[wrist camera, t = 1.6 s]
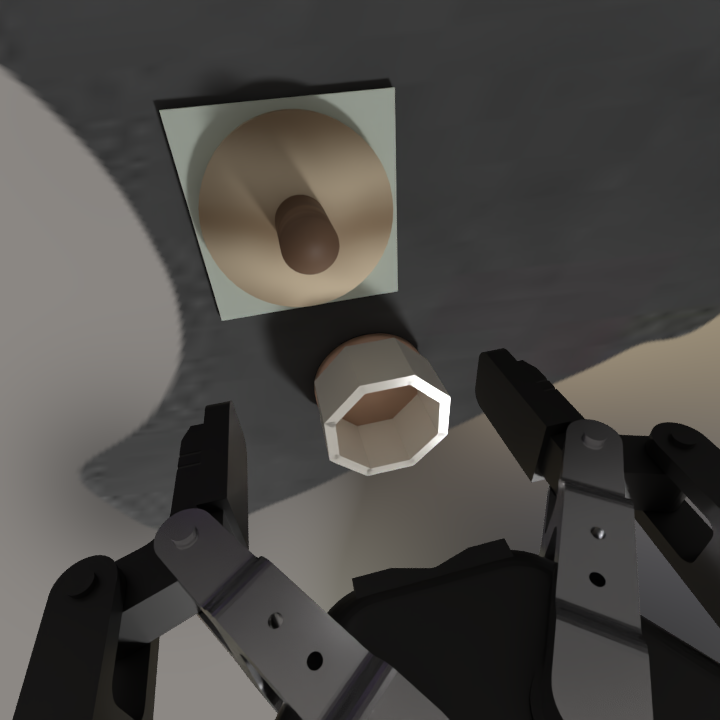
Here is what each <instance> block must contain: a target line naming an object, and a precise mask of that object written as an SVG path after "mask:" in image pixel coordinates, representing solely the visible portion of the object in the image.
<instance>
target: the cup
mask: <svg viewBox="0 0 720 720" xmlns="http://www.w3.org/2000/svg"><path fill="white" fill-rule="evenodd" d="M314 393H315V397H316V401H317V405H318V408H319V413H320V419H321V423H322V428H323V432H324V437H325V441H326V446H327V450H328V455H329V459H330V461H332V462H334V463H337V464H339V465H342V466H344V467H347V468H349V469H352V470H354V471H356V472H359V473H361V474H364V475H366V476H369V475H374V474H378V473H382V472H387V471H391V470H395V469H400V468H404V467H408V466H413V465H414V464H416V463H417V462H418V461H419V460H420V459H421V458H422V457H423V456H424V455H425V454H427V453H428V452H429V451H430V450H431V449H432V448H433V447H434V446H435V445H437V444H438V443H439V442H440V441H441V440H442V439H443V438H444V437H445V436H446V435H447V434H448V421H449V408H450V396H449V394H448V393H447V391H446V389H445V388H444V386H443V384H442V383H441V381H440V380H439V378H438V376H437V375H436V373H435V371H434V370H433V368H432V367H431V365H430V363H429V362H428V360H427V359H426V358H424V357H423V356H421V355H420V354H419V352H418V351H417V349H416V348H415V347H414V346H413V345H412V344H411V343H409V342H408V341H407V340H405V339H403V338H401V337H398V336H395V335H391V334H384V333H374V334H366V335H362V336H358V337H355V338H353V339H350V340H348V341H346V342H344V343H343V344H341V345H339V346H338V347H337V348H335V349H334V350H333V351H332V352H331V353H330V354H329V355H328V356H327V357H326V358H325V359H324V360H323V362H322V363H321V365H320V367H319V368H318V371H317V373H316V377H315V381H314Z"/></svg>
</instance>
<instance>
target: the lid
mask: <svg viewBox="0 0 720 720" xmlns="http://www.w3.org/2000/svg"><path fill="white" fill-rule="evenodd" d="M198 210H199V222H200V227H201V231H202V235H203V238H204V241H205V244H206V246H207V249H208V251H209V253H210V254H211V256H212V258H213V260H214V261H215V263H216V264H217V266H218V267H219V269H220V270H221V271H222V272H223V273H224V274H225V275H226V277H227V278H228V279H229V280H231V281H232V282H233V283H234V284H235V285H236V286H237V287H239V288H240V289H242V290H243V291H245V292H246V293H248V294H250V295H252V296H254V297H256V298H258V299H260V300H263V301H265V302H268V303H272V304H276V305H280V306H288V307H306V306H314V305H319V304H323V303H326V302H329V301H332V300H335V299H337V298H339V297H341V296H343V295H345V294H346V293H348V292H349V291H351V290H353V289H354V288H355V287H357V286H358V285H359V284H360V283H361V282H363V281H364V279H365V278H366V277H367V276H368V275H369V274H370V273H371V272H372V271H373V269H374V268H375V267H376V265H377V264H378V262H379V260H380V259H381V257H382V255H383V253H384V251H385V248H386V246H387V244H388V240H389V237H390V234H391V229H392V223H393V197H392V192H391V187H390V183H389V180H388V177H387V174H386V171H385V169H384V167H383V165H382V163H381V161H380V159H379V158H378V157H377V155H376V154H375V152H374V151H373V149H372V148H371V147H370V146H369V145H368V143H367V142H366V141H365V140H364V139H363V138H362V137H361V136H360V135H358V134H357V133H356V132H355V131H354V130H352V129H351V128H349V127H348V126H346V125H345V124H343V123H342V122H340V121H338V120H337V119H334V118H332V117H330V116H328V115H325V114H322V113H319V112H315V111H311V110H304V109H280V110H275V111H269V112H266V113H263V114H260V115H258V116H255V117H253V118H251V119H249V120H247V121H246V122H244V123H242V124H241V125H239V126H238V127H237V128H235V129H234V130H233V131H232V132H231V133H230V134H229V135H228V136H227V137H226V138H225V139H224V140H223V141H222V142H221V143H220V145H219V146H218V147H217V149H216V150H215V151H214V153H213V155H212V157H211V159H210V161H209V163H208V165H207V167H206V170H205V173H204V176H203V179H202V183H201V188H200V193H199V206H198Z"/></svg>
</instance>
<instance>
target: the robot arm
mask: <svg viewBox="0 0 720 720" xmlns="http://www.w3.org/2000/svg"><path fill="white" fill-rule="evenodd" d="M475 393H476V398H477V401H478V404H479V406H480V407H481V409H482V410H483V412H484V413H485V415H486V416H487V418H488V419H489V421H490V422H491V423H492V425H493V426H494V428H495V429H496V431H497V432H498V434H499V435H500V437H501V438H502V440H503V441H504V443H505V444H506V446H507V447H508V449H509V450H510V451H511V453H512V454H513V456H514V457H515V459H516V460H517V462H518V463H519V464H520V466H521V468H522V469H523V471H524V472H525V473H526V475H527V476H528V478H529V479H530V481H531V482H535V481H539V480H543V479H546V481H547V482H548V483H549V488H548V492H547V500H546V509H545V517H544V525H543V533H542V541H541V546H540V551H539V555H536V554H533V553H529V552H525V551H518V550H510V548H509V546H508V545H507V543H506V541H505V539H500V540H496V541H492V542H488V543H485V544H481V545H478V546H473V547H470V548H468V549H466V550H464V551H462V552H461V553H459V554H457V555H455V556H454V557H452V558H450V559H449V560H447V561H446V562H444V563H442V564H440V565H439V566H437V567H434V568H390V569H386V570H382V571H379V572H375V573H371V574H367V575H364V576H360V577H356V578H353V579H352V581H353V587H354V591H352V592H351V593H349V594H347V595H346V596H344V597H343V598H342V599H341V600H339V601H338V602H337V603H336V604H335V605H334V606H333V607H332V608H331V609H330V610H329V612H328V613H326V612H325V611H324V610H323V609H322V608H321V607H320V606H319V605H317V604H316V603H315V602H314V601H313V600H312V599H311V598H310V597H309V596H308V595H307V594H305V593H304V592H303V591H302V590H301V589H300V588H299V587H298V586H297V585H296V584H295V583H293V582H292V581H291V580H290V579H289V578H288V577H287V576H286V575H285V574H284V573H283V572H281V571H280V570H279V569H278V568H277V567H276V566H275V565H274V564H273V563H271V562H270V561H269V560H268V559H266V558H265V557H262V556H261V557H259V558H257V557H256V556H254V555H253V554H252V553H251V552H250V551H249V546H248V545H249V541H248V486H247V451H246V444H245V439H244V436H243V432H242V429H241V426H240V423H239V420H238V417H237V414H236V411H235V408H234V405H233V403H232V401H228V402H223V403H218V404H213V405H208V406H206V408H205V416H204V424H199V425H194V426H191V427H190V428H189V430H188V431H187V433H186V434H185V436H184V437H183V439H182V441H181V448H180V454H179V455H180V458H179V461H178V470H177V474H176V481H175V488H174V495H173V501H172V508H171V514H170V518H168V519H167V520H166V521H165V522H164V523H163V524H162V525H161V527H160V528H159V530H158V531H157V533H156V536H155V539H153V540H152V541H151V542H150V543H148V544H147V545H145V546H143V547H142V548H140V549H138V550H136V551H134V552H132V553H131V554H129V555H127V556H125V557H123V558H121V559H119V560H117V561H115V562H114V560H113V559H111V558H110V557H107V556H102V555H95V556H91V557H88V558H85V559H83V560H81V561H79V562H77V563H75V564H74V565H72V566H71V567H70V568H68V569H67V570H66V571H65V572H64V573H63V574H62V575H61V576H60V577H59V578H58V580H57V581H56V582H55V584H54V586H53V587H52V589H51V591H50V594H49V596H48V600H47V603H46V607H45V610H44V613H43V617H42V620H41V624H40V628H39V631H38V634H37V638H36V641H35V644H34V648H33V651H32V655H31V658H30V662H29V665H28V669H27V672H26V675H25V679H24V683H23V686H22V689H21V692H20V696H19V699H18V703H17V706H16V710H15V713H14V716H13V720H153V712H154V699H155V687H156V674H157V661H158V649H159V637H160V636H161V635H163V634H164V633H166V632H167V631H169V630H171V629H172V628H174V627H176V626H177V625H179V624H181V623H182V622H184V621H186V620H187V619H189V618H190V617H192V616H194V615H195V614H197V615H198V617H199V618H200V619H201V620H202V621H203V623H204V624H205V625H206V626H207V627H208V629H209V630H210V631H211V632H212V633H213V635H214V636H215V637H216V638H217V639H218V640H219V642H220V643H221V644H222V645H223V646H224V648H225V649H226V650H227V651H228V652H229V653H230V655H231V656H232V657H233V658H234V659H235V661H236V662H237V663H238V665H240V667H241V669H242V670H243V671H244V672H245V674H246V675H247V677H248V678H249V679H250V680H251V682H252V683H253V684H254V685H255V687H256V688H257V689H258V690H259V692H260V693H261V694H262V695H263V696H264V698H265V699H266V700H267V701H268V702H269V704H270V705H271V706H272V707H273V708H274V709H275V711H276V712H277V713H278V714H277V717H276V719H275V720H720V663H718V662H717V661H715V660H713V659H712V658H710V657H709V656H707V655H705V654H704V653H702V652H700V651H699V650H697V649H696V648H694V647H692V646H691V645H689V644H687V643H686V642H684V641H682V640H681V639H679V638H677V637H676V636H674V635H673V634H671V633H669V632H667V631H666V630H664V629H663V628H661V627H660V626H658V625H656V624H655V623H653V622H651V621H650V620H648V619H646V618H645V617H643V616H642V615H640V603H639V587H638V570H637V569H638V568H637V553H636V535H635V519H636V521H637V522H638V523H639V524H640V526H641V527H642V528H643V530H644V531H645V532H646V533H647V535H648V536H649V537H650V539H651V540H652V541H653V543H654V544H655V545H656V546H657V548H658V549H659V550H660V552H661V553H662V554H663V555H664V557H665V558H666V559H667V561H668V562H669V563H670V564H671V566H672V567H673V568H674V570H675V571H676V572H677V573H678V575H679V576H680V577H681V579H682V580H683V581H684V583H685V584H686V585H687V586H688V588H689V589H690V590H691V592H692V593H693V594H694V595H695V597H696V598H697V599H698V601H699V602H700V603H701V604H702V606H703V607H704V608H705V610H706V611H707V612H708V613H709V615H710V616H711V617H712V618H713V620H714V621H715V623H716V624H717V625H718V626H719V627H720V449H719V448H718V447H716V446H715V445H714V444H713V443H712V442H711V441H710V440H709V439H707V438H706V437H705V436H704V435H703V434H701V433H700V432H698V431H697V430H695V429H693V428H691V427H688V426H685V425H682V424H678V423H670V422H667V423H661V424H658V425H656V426H655V427H654V428H653V429H652V431H651V434H650V435H649V436H633V435H619V434H618V433H617V432H616V431H615V430H613V429H612V428H611V427H609V426H608V425H606V424H604V423H601V422H599V421H595V420H587V419H584V418H583V416H582V415H581V414H580V413H579V412H578V411H577V410H576V409H575V408H574V407H573V406H572V405H571V404H570V403H569V402H568V401H567V399H566V398H565V397H564V396H563V395H562V394H561V393H560V392H559V391H558V390H557V389H555V387H554V386H553V385H552V384H551V383H550V381H547V378H546V377H545V376H544V375H543V374H542V373H541V372H540V371H539V370H538V369H537V368H536V367H534V366H532V365H530V364H528V363H527V362H525V361H523V360H521V361H517V360H516V359H515V358H514V357H513V356H512V355H511V354H510V353H509V352H508V351H507V350H506V349H504V348H502V349H497V350H492V351H487V352H482V353H481V354H480V356H479V362H478V370H477V379H476V387H475ZM686 496H687V497H688V498H689V499H690V500H691V501H692V502H693V504H695V506H696V507H697V508H698V509H699V510H700V511H701V512H702V513H703V514H704V515H705V517H706V518H707V519H708V520H709V522H710V523H711V526H712V529H713V530H712V529H711V528H710V527H709V526H708V525H707V524H706V523H705V522H704V521H703V519H702V518H701V517H700V516H699V515H698V514H697V513H696V512H695V511H694V510H693V509H692V508H691V506H690V505H689V504H688V503H687V502H686V501H685V500H684V499H685V497H686Z"/></svg>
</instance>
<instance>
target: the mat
mask: <svg viewBox="0 0 720 720" xmlns="http://www.w3.org/2000/svg"><path fill="white" fill-rule="evenodd" d="M280 109H304V110H311V111H315V112H319V113H322V114H325V115H328V116H330V117H332V118H334V119H337V120H338V121H340V122H342V123H343V124H345V125H346V126H348V127H349V128H351V129H352V130H354V131H355V132H356V133H357V134H358V135H360V136H361V137H362V138H363V139H364V140H365V141H366V142H367V143H368V145H369V146H370V147H371V148H372V149H373V151H374V152H375V154H376V155H377V157H378V158H379V159H380V161H381V163H382V165H383V167H384V169H385V171H386V174H387V177H388V180H389V183H390V187H391V192H392V197H393V223H392V229H391V234H390V237H389V240H388V244H387V246H386V248H385V251H384V253H383V255H382V257H381V259H380V260H379V262H378V264H377V265H376V267H375V268H374V269H373V271H372V272H371V273H370V274H369V275H368V276H367V277H366V278H365V279H364V281H363V282H361V283H360V284H359V285H358V286H357V287H355V288H354V289H353V290H351V291H349V292H348V293H346V294H345V295H343V296H341V297H339V298H337V299H335V300H332V301H329V302H326V303H330V302H336V301H342V300H348V299H354V298H360V297H366V296H372V295H378V294H384V293H390V292H396V291H398V278H397V210H396V141H395V88H394V87H389V88H379V89H369V90H358V91H348V92H338V93H328V94H317V95H307V96H297V97H286V98H276V99H266V100H255V101H245V102H235V103H225V104H214V105H204V106H194V107H183V108H173V109H163V110H159V112H160V115H161V118H162V122H163V125H164V128H165V132H166V135H167V138H168V142H169V145H170V148H171V152H172V155H173V158H174V162H175V165H176V168H177V172H178V175H179V178H180V182H181V185H182V189H183V192H184V195H185V199H186V202H187V205H188V209H189V212H190V215H191V219H192V222H193V225H194V229H195V232H196V235H197V239H198V242H199V245H200V249H201V252H202V255H203V259H204V262H205V266H206V269H207V272H208V276H209V279H210V282H211V286H212V289H213V292H214V296H215V299H216V302H217V306H218V309H219V312H220V316H221V319H222V321H223V320H229V319H235V318H241V317H247V316H253V315H259V314H265V313H271V312H277V311H283V310H289V309H295V308H301V307H288V306H280V305H276V304H272V303H268V302H265V301H263V300H260V299H258V298H256V297H254V296H252V295H250V294H248V293H246V292H245V291H243V290H242V289H240V288H239V287H237V286H236V285H235V284H234V283H233V282H232V281H231V280H229V279H228V278H227V277H226V275H225V274H224V273H223V272H222V271H221V270H220V269H219V267H218V266H217V264H216V263H215V261H214V260H213V258H212V256H211V254H210V253H209V251H208V249H207V246H206V244H205V241H204V238H203V235H202V231H201V227H200V222H199V210H198V206H199V193H200V188H201V183H202V179H203V176H204V173H205V170H206V167H207V165H208V163H209V161H210V159H211V157H212V155H213V153H214V151H215V150H216V149H217V147H218V146H219V145H220V143H221V142H222V141H223V140H224V139H225V138H226V137H227V136H228V135H229V134H230V133H231V132H232V131H233V130H234V129H235V128H237V127H238V126H239V125H241V124H242V123H244V122H246V121H247V120H249V119H251V118H253V117H255V116H258V115H260V114H263V113H266V112H269V111H275V110H280ZM323 304H324V303H323ZM306 307H307V306H306Z"/></svg>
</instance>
